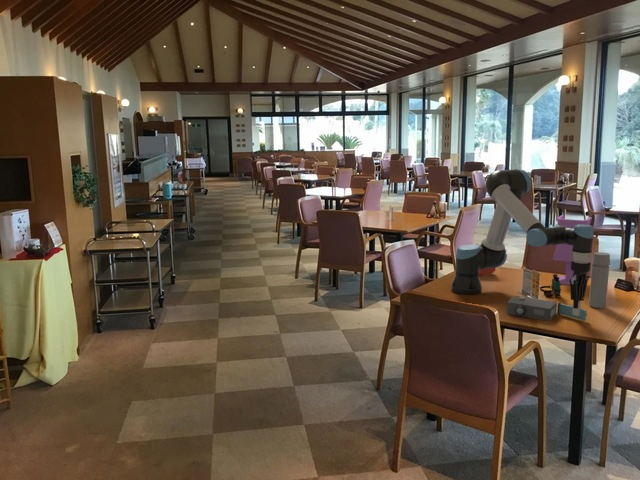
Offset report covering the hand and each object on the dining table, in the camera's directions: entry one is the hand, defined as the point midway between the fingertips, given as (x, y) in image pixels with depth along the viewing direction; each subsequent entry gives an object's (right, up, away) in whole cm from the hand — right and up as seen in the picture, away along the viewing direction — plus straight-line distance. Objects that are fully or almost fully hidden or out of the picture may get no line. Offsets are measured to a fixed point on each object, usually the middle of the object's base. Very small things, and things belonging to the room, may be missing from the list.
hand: (576, 315), depth 242 cm
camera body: (-16, -1, +8) cm, 18 cm away
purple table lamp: (+24, +9, +62) cm, 67 cm away
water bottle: (+19, +1, +20) cm, 28 cm away
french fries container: (-16, +12, +81) cm, 84 cm away
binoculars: (+4, +4, +37) cm, 37 cm away
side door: (0, -2, +4) cm, 4 cm away
